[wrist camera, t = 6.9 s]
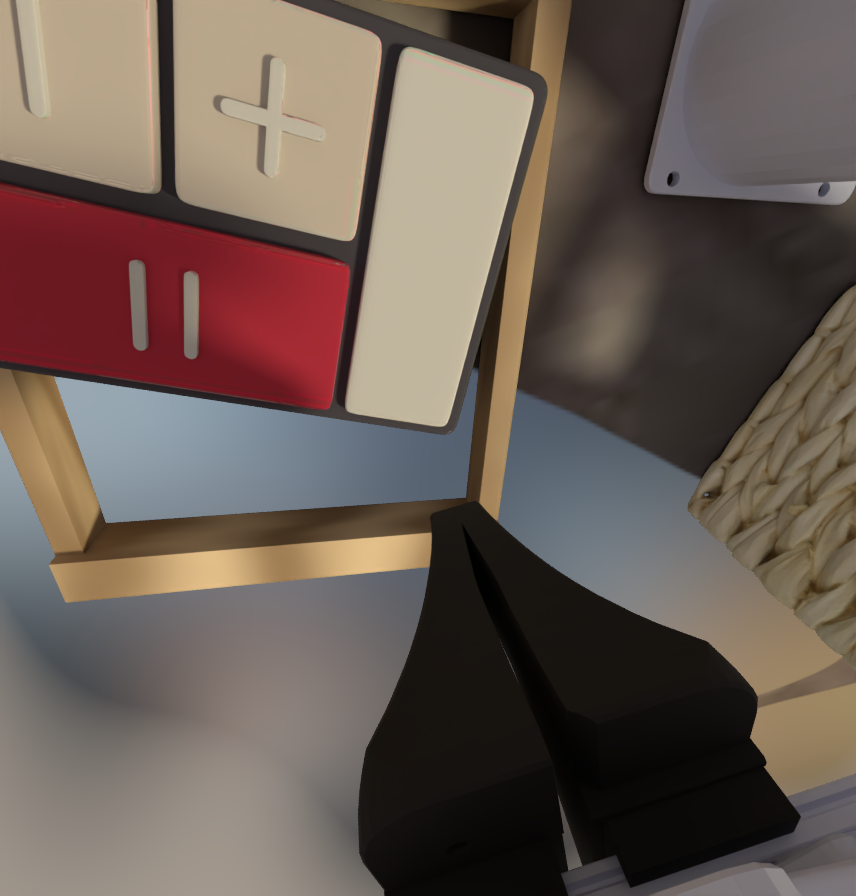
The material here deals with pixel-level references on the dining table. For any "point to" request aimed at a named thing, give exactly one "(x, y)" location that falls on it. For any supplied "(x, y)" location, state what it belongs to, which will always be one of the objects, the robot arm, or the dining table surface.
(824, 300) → the dining table surface
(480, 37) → the dining table surface
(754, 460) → the storage basket
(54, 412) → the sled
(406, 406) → the calculator
